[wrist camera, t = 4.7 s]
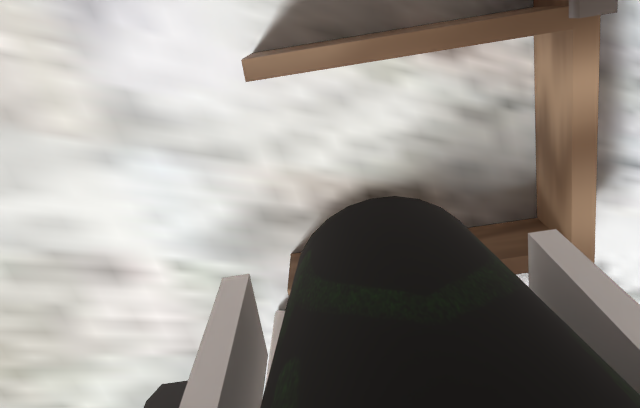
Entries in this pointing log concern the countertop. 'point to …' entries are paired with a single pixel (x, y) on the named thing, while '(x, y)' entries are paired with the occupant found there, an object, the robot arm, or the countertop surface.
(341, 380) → the cup
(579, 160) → the comb rack
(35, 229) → the countertop surface
